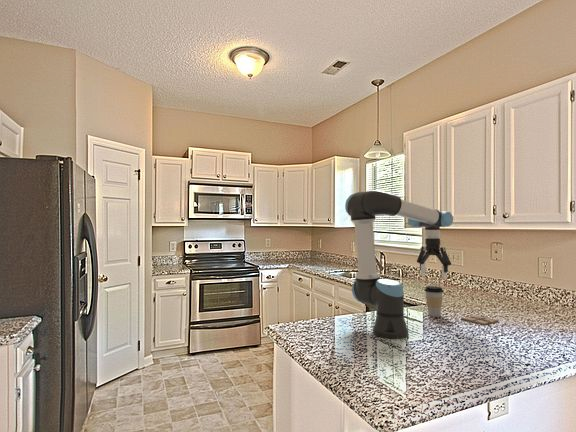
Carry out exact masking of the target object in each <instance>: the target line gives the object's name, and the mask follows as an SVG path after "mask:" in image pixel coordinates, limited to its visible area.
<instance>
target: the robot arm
mask: <svg viewBox="0 0 576 432" xmlns="http://www.w3.org/2000/svg"><path fill="white" fill-rule="evenodd" d="M344 206H345V207H344V209H345V212H346V213H347V214H348V216H350V221H351V223H352V224H353V225H354V235H355V246H356V259H357V271H358V272H357V275H355V280H354V281H353V283H352V285H351V293H352V295H353V296H352V297H353V298H354V299H355V300H356V301H357V302H359V303H361V304H363V305H368V306H371V307H376V317H375V321H374V325H373V327H372V333H373V335H375V336H377V337H380V338H384V339H393V340H396V339H399V340H400V339H405V338H407V337H409V328H408V327H407V322H406V319H405V305H404V304H405V301H404V297H405V294H404V293H405V292H404V286H403V284H402V283H401V282H400V281H397V280H394V279H388V278H382V279H381V275H380V274H379V273H378V272H377V261H376V247H375V236H374V225H373V224H374V221H376V218H377V217H376V216H389V217H390V216H391V217H395V216H399V217H402V218H405V219H407V224H408V225H409V226H410V227H412V228H424V231H425V232H424V237H425V242H424V243H425V245H426V246H425V245H423V246H421V248H420V252H419V255H418V257H417V259H416V263H418V264H419V270H420V276H421V277H425V276H426V272H427V271H426V261H427V260H428V258H429V257H430V256H435V257H436V258H437V259H438V260H439V262H440V263H441V265H442V266H441V279H442V280H445V279H447V278H448V275H447V274H448V272H449V269H448V268H449V266H451V265H452V262H451V260H450V258H449V256H448V253H447V249H446V247H445V246H444V247H443V246H442V247H441V238H440V237H441V227H442V228H448V227H451V226H452V224H453V223H454V222H453V221H454V216H453V214H452V213H451V212H450V211H445V210H444V211H440V210H439V209H433V208H429V207H427V206H423V205H420V204H417V203H414V202H411V201H407V200H404V199H402V198H401V197H400V196H398V195H396V194H393V193H389V192H385V191H382V190H377V189H373V190H372V189H371V190H368V191H367V190H366V191H365V190H364V191H358V192H355V193H352V194H350V195H349V196H348V197H347V199H346V201H345V205H344Z"/></svg>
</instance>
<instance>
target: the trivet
mask: <svg viewBox="0 0 576 432" xmlns="http://www.w3.org/2000/svg"><path fill="white" fill-rule="evenodd" d="M460 320H461V321H465V322H468V323H469V322H470V323H474V324H477V325H481V326H488V325H491V324H495V323H499V320H498V319H493V318H489V317H486V316H481V315H476V314H475V315H470V316H465V317H461V318H460Z"/></svg>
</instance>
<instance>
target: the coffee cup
mask: <svg viewBox="0 0 576 432" xmlns="http://www.w3.org/2000/svg"><path fill="white" fill-rule="evenodd" d="M424 292H425V300H426V306H427V311H428V312H427V313H428V316H430V317H434V318H435V317H436V318H439V317H441V315H442V314H441V313H442V307H443V305H442V304H443V293H444V290H443V288H442V287H441V286H432V285H431V286H425V288H424Z"/></svg>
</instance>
